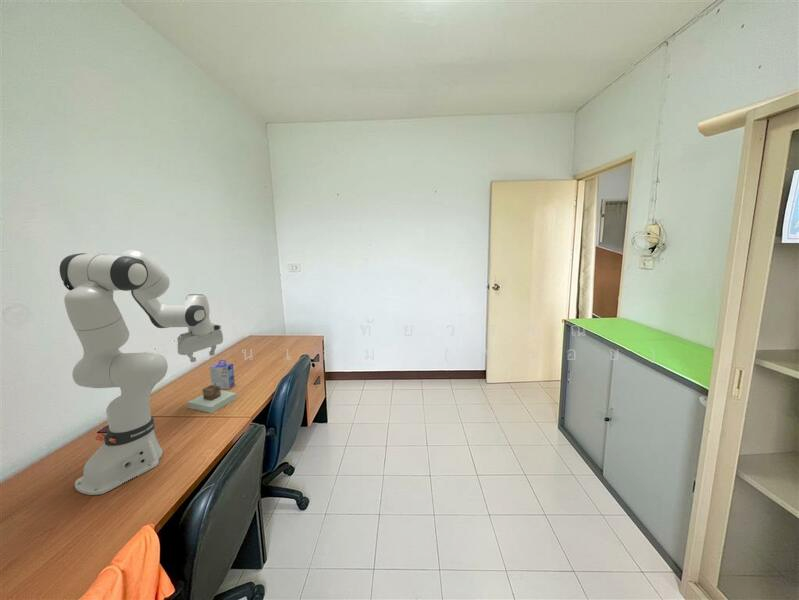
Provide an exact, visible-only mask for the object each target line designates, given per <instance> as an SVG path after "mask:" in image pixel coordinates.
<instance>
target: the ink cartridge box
mask: <svg viewBox="0 0 799 600" xmlns="http://www.w3.org/2000/svg"><path fill="white" fill-rule="evenodd" d="M209 373H210V383H211V384H210V385H216V386H220V390H230V389H232V388H233V387H234V386H236V382H235V381H236V380H235V372H234V363H227V359H219V360H218V363H215V364H213V365H211V366H210V367H209Z"/></svg>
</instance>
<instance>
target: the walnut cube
mask: <svg viewBox="0 0 799 600" xmlns="http://www.w3.org/2000/svg"><path fill="white" fill-rule="evenodd" d="M220 390H221V389H220V386H216V385H211V384H210V385H208V386H207V387H204V388H202V395H203V397H204V399H206V400H210V401H212V400H214V399H216V398H218V397H220V396H221V391H220Z"/></svg>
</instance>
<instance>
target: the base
mask: <svg viewBox="0 0 799 600" xmlns="http://www.w3.org/2000/svg"><path fill="white" fill-rule="evenodd" d="M220 391H221V396H220V397H218V398H216V399H214V400H212V401H210V400H206V399H204V397H203V394H202V395H200V396H196V397H195V398H193V399H191V400H189V401H187V406H188V409H191V410H195V411H200V412H203V413H209V414H212V413H214V412H216V411H218V410H219V409H221V408H223V407H225V406H226V405H229V404H230V403H233V401H236V400H237V393H236V392H232V391H228V390H223V389H220Z"/></svg>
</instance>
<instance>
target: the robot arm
mask: <svg viewBox="0 0 799 600" xmlns="http://www.w3.org/2000/svg"><path fill="white" fill-rule="evenodd" d="M59 276H60V278H61V280H62V282H63V286H64V287H65V288H66V289H67V290H68V292H67V293H66V295H65V296H64V300H63V301H64V306H65V310H66V314H67V316H68V318H69V319H68V320H69V321H70V324H71V326H72V328H73V329H74V332H75V333H76V336H77V338H78V340H79V341H80V343H81V346H82V349H83V350H82V351H83V356H82V358H80V359H79V361H77V362H76V364H75V365H74V367H73V369H72V374H71V375H72V380H73V381H74V383H75V384H76V385H77V386H78V387H84V388H89V389H90V388H91V389H110V388H119V389H120V395H118V396H117V397H115V398H114V399H113V400H111V401H110V403H109V404H108V405H107V407H106V409H105V413H106V417H107V419H106V420H107V425H108V429H107V432H106V434H105V433H104V434H103V433H98V434H96V436H95V440H96V441H100V442H102V441H104V442H103V444H102V445H100V447H99V448H98V449H97V450H96V452H95V453H93V454H92V455H91V456H90V458H89V459H88V460H87V461H86V462H85V463H84V467H83V475H82V476H80V477H78V478H77V479H76V480H75V482H74V488H75V490H76V491H77V492H79V493H81V494H84V495H89V496H95V495H103V494H106V493H107V492H109V491H111V490H113V489H115V488H118V487H119V486H121V485H123V484H125V483H127V482H129V481H130V479H131V480H132V478H133V479H134V477H135V478H137V477H138V476H141V475H143V474H145V473H147V472H148V471H150V470H152V469H153V468H156V467H157V466H158V465H159V462H160V461H159V460H160V459H161V457H162V455H163V451H164V450H163V448H161V446H160V444H159V442H158V439H157V437H156V434H155V433H156V432H155V430H156V429H155V421H154V417H153V415H152V412H151V400H150V399H151V394H152V391H153V389H154V388H155V386H156V385H157V384H158V383H160V382H161V381H162V380H163V379H164V378H165V377H166V374H167V373H168V365H169V364H168V361H167V360H166V358H165V356H164V355H162V354H160V353H159V354H158V353H153V352H129V353H128V352H122V351H120V348H121V347H123V346H124V345H126V343H127V342H128V341H129V337H130V330H129V329H128V326H127V324H126V321H125V319H124V317H123V315H122V313H121V311H120V309H119V307H118V305H117V303H116V302H115V300H114V292H115V291H123V292H128V291H129V292H130V293H131V296H132V298H133V299H134V300H135V302H136V303H137V304H138V305H139V307H140V308H141V309H142V310H143V311H144V312H145V314H146V315H147V316H148V318H149V320H150V322H151V324H152V325H153V326H155V328H158V329H167V328H187V332H183V333H180V335H179V336H178V337H177V354H178V355H180V356H187V357H188V358H189V361H190V363H194V362H197V357H195V356H194V353H196V352H199V351H202V350H205V349H208V348H210V351H208V353H209V356H211V357H212V356H214V355H216V353H215V352H216V349H217V346H218V345H220V344H223V342H224V336H223V334H224V333H223V330H222V326H221V324H216V323H212V322H211V319H210V305H209V301H208V298H207V295H204V294H197V293H195V294H187V295H186V296H185V301H184V302H183V303H182V304H167V303H161V302H160V300H158V299H159V298H160V297H162V296H163V295H164V294H165V293H166V292H167V291H168V289H169V287H170V284H171V283H170V282H171V281H170V278H169V276H168V275H167V273H166V272H165V271H164V270H163V269H162V267H161V266H159V264H157V263H156V262H155V261H154V260H153V259H152V258H150V257H149V256H148V255H146V254H145V253H143V252H142V251H139V250H135V249H127V250H124V251H121V252H120V253H118V254H117V255H116V254H107V253H85V252H84V253H83V252H82V253H75V254H71V255H66V257H64V258H63V259H62V260H61V262H60V265H59ZM136 476H137V477H136ZM128 480H129V481H128ZM126 481H127V482H126ZM124 482H125V483H124ZM122 483H123V484H122Z"/></svg>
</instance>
